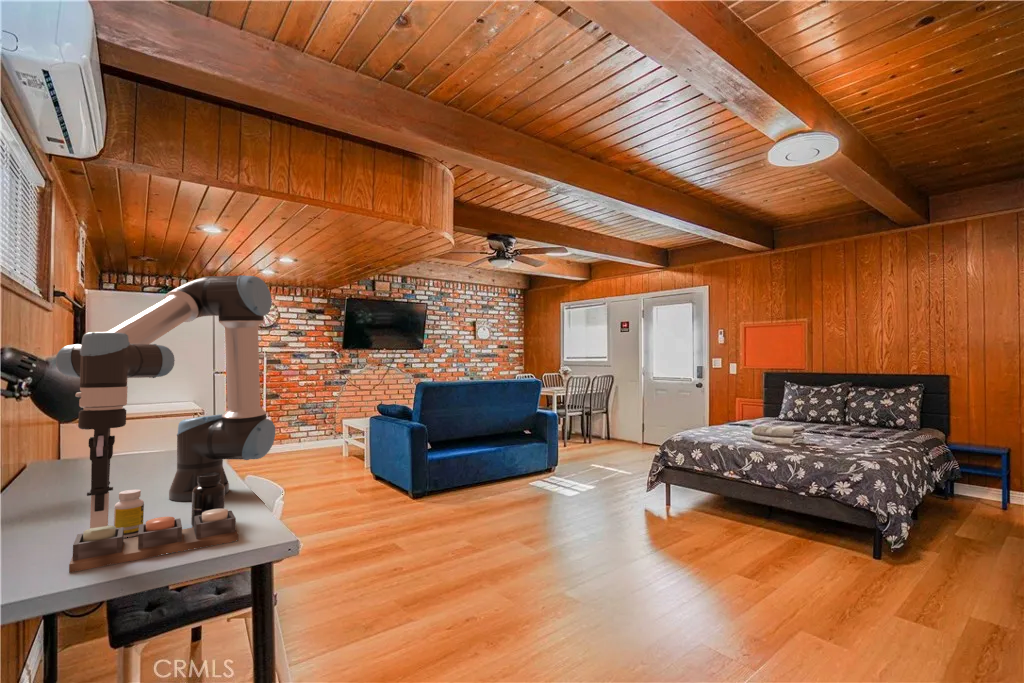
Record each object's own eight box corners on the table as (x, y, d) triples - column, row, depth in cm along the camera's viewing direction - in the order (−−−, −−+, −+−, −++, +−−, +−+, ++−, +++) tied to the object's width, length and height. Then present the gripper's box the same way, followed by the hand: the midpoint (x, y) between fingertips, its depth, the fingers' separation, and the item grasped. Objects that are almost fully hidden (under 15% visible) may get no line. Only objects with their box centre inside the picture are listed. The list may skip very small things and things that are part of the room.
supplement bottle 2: (186, 529, 118) (188, 478, 118) (196, 521, 124) (197, 472, 125) (219, 527, 119) (220, 476, 120) (227, 518, 126) (228, 470, 127)
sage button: (115, 535, 104) (116, 523, 104) (114, 542, 100) (114, 530, 100) (84, 540, 101) (84, 528, 101) (81, 548, 97) (82, 535, 97)
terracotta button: (173, 526, 110) (174, 515, 110) (174, 532, 106) (175, 520, 106) (145, 530, 107) (146, 519, 107) (145, 537, 103) (145, 525, 103)
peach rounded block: (226, 517, 116) (226, 507, 116) (228, 523, 112) (229, 512, 112) (200, 521, 113) (201, 511, 113) (202, 527, 109) (202, 516, 109)
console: (231, 527, 119) (231, 508, 119) (238, 540, 110) (238, 520, 110) (76, 554, 103) (76, 532, 103) (68, 572, 94) (69, 548, 94)
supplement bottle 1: (145, 534, 115) (147, 491, 115) (116, 540, 111) (117, 495, 111) (140, 529, 118) (141, 487, 119) (110, 535, 114) (112, 491, 115)
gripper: (82, 407, 105) (78, 521, 104) (74, 411, 94) (70, 539, 93) (127, 405, 109) (124, 515, 108) (125, 409, 99) (121, 531, 98)
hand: (99, 526), depth 101 cm, fingers closed
